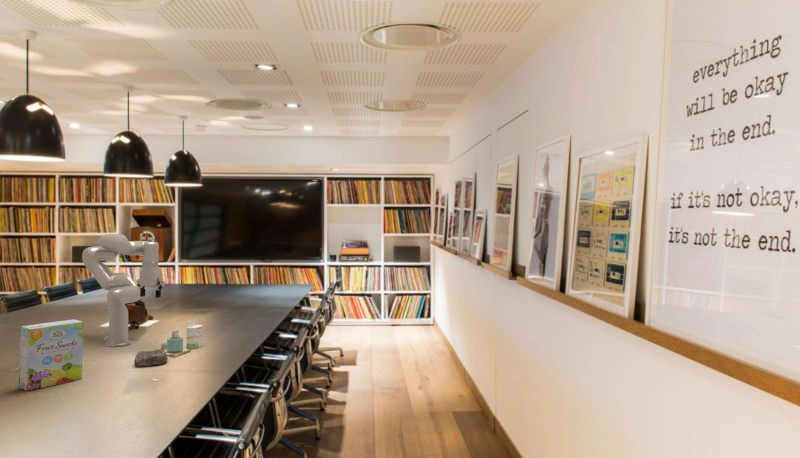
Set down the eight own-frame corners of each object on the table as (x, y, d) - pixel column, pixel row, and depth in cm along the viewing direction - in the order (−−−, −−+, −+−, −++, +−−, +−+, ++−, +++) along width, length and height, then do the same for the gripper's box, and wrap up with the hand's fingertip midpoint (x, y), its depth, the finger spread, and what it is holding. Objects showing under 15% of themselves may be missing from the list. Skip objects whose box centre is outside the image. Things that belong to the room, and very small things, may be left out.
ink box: (194, 349, 289) (194, 322, 288) (186, 348, 290) (186, 321, 289) (203, 345, 297) (203, 319, 297) (195, 345, 298) (195, 318, 298)
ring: (164, 350, 277) (164, 339, 276) (173, 347, 284) (173, 336, 284) (176, 352, 275) (176, 340, 274) (185, 348, 282) (185, 337, 282)
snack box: (28, 392, 216) (28, 328, 215) (18, 388, 220) (18, 326, 220) (83, 379, 234) (84, 320, 234) (73, 375, 239) (73, 318, 238)
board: (149, 354, 276) (149, 331, 276) (164, 349, 288) (165, 327, 288) (175, 357, 272) (175, 333, 272) (190, 351, 284) (190, 329, 283)
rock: (134, 369, 252) (168, 366, 258) (134, 355, 251) (169, 353, 258) (133, 361, 263) (167, 359, 270) (134, 348, 263) (167, 346, 269)
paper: (127, 377, 239) (127, 375, 239) (168, 373, 246) (168, 371, 245) (122, 395, 216) (122, 392, 216) (169, 390, 223) (169, 387, 223)
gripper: (131, 264, 284) (131, 296, 285) (159, 266, 280) (159, 298, 280) (142, 263, 292) (141, 295, 292) (169, 265, 287) (169, 296, 288)
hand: (150, 296), depth 286 cm, fingers open, 9 cm apart
